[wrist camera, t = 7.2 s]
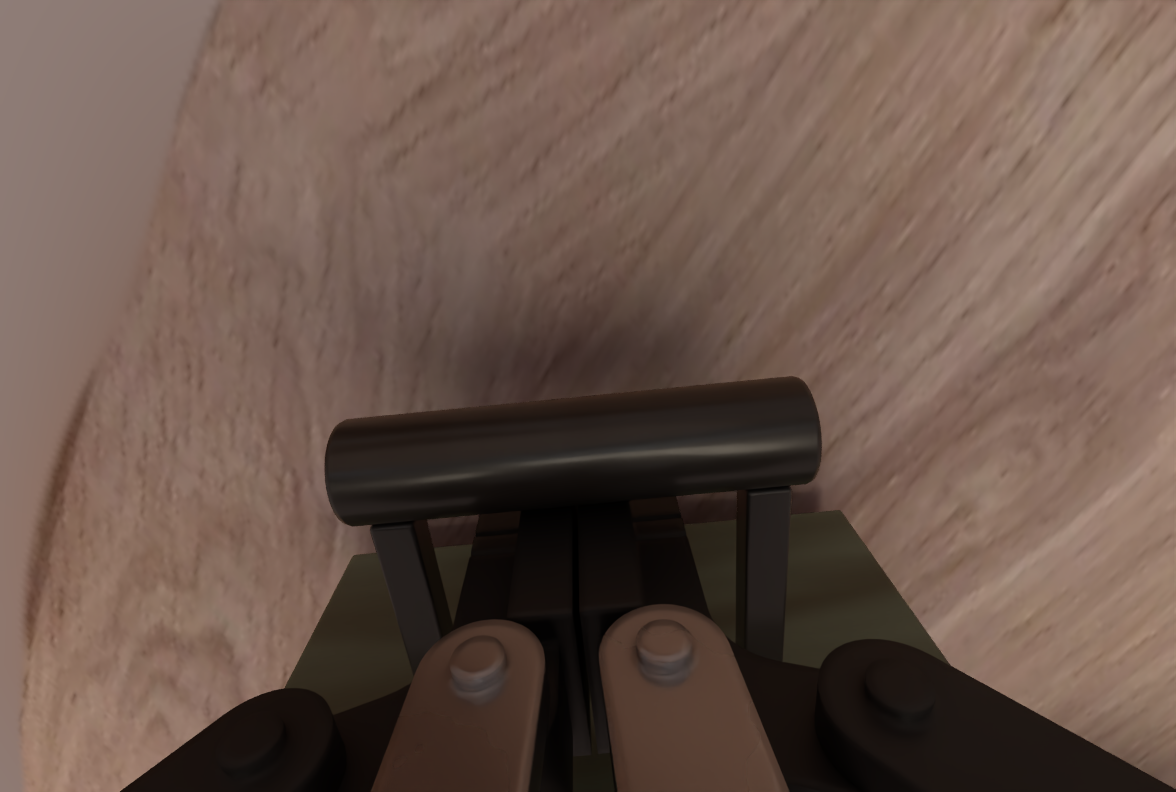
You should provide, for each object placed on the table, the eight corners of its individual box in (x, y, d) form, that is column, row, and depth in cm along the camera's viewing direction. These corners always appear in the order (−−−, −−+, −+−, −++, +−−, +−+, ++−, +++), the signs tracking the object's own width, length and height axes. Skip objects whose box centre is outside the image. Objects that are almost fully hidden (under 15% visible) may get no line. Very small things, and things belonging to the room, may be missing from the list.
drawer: (280, 329, 12) (-80, 574, 5) (863, 271, 12) (1235, 450, 5) (455, 876, 20) (397, 1252, 13) (808, 847, 20) (929, 1213, 13)
